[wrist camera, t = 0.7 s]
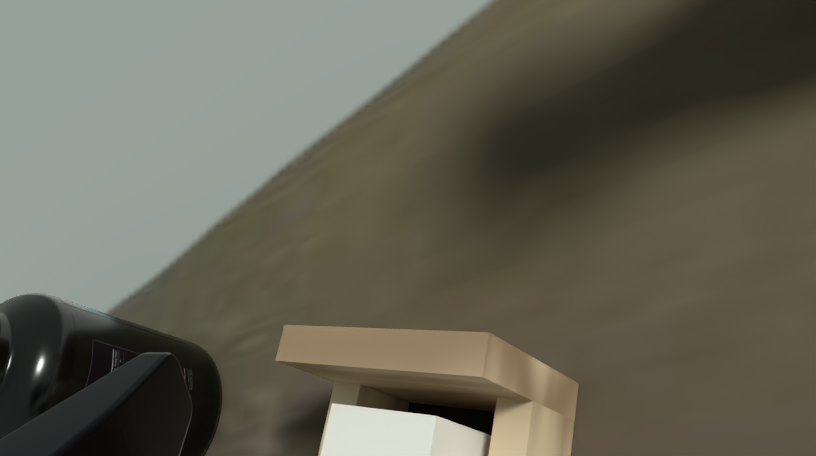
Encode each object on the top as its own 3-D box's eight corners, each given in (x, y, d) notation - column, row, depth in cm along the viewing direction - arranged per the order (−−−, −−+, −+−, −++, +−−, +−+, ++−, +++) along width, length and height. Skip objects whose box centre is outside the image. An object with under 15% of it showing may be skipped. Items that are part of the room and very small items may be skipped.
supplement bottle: (112, 477, 36) (-167, 434, 27) (157, 341, 38) (-89, 260, 29) (201, 505, 32) (-95, 464, 23) (245, 350, 34) (-10, 259, 25)
